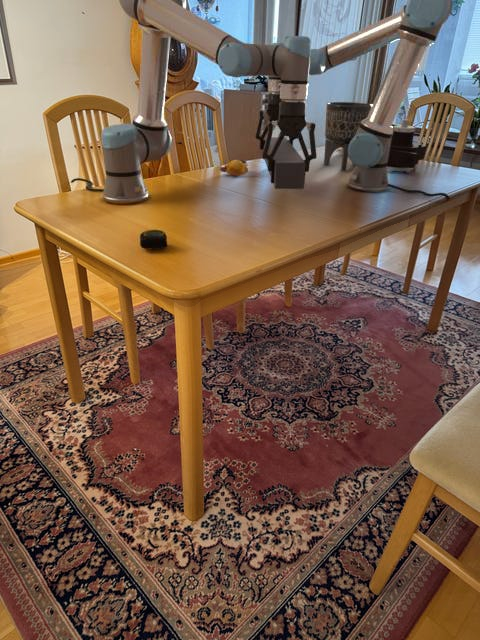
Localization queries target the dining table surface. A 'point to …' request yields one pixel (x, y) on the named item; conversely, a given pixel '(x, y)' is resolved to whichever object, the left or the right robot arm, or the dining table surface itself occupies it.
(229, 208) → the dining table surface
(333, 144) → the planter
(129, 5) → the left robot arm
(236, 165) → the toy
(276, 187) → the long gray bar
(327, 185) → the dining table surface
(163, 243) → the tape measure
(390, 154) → the mechanical component
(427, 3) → the right robot arm
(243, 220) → the dining table surface
